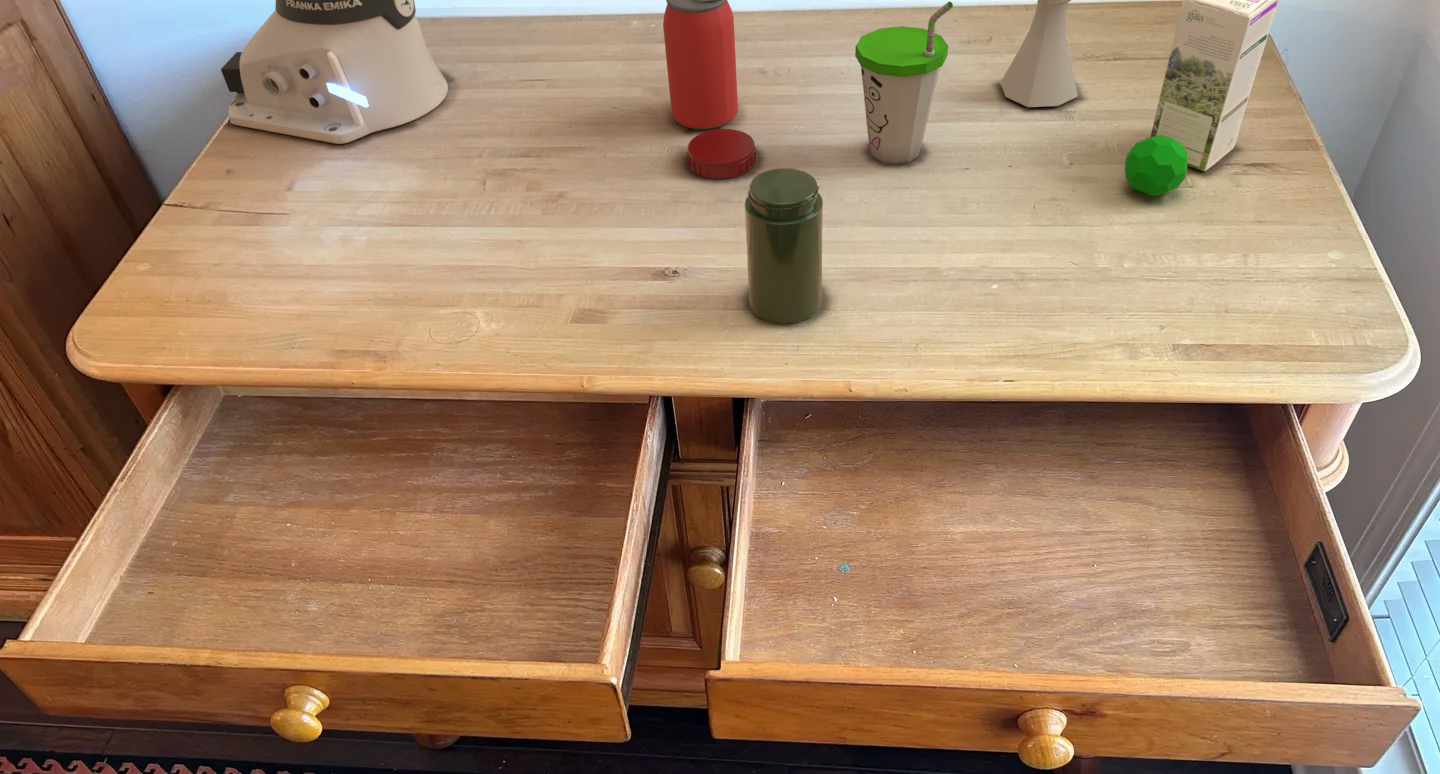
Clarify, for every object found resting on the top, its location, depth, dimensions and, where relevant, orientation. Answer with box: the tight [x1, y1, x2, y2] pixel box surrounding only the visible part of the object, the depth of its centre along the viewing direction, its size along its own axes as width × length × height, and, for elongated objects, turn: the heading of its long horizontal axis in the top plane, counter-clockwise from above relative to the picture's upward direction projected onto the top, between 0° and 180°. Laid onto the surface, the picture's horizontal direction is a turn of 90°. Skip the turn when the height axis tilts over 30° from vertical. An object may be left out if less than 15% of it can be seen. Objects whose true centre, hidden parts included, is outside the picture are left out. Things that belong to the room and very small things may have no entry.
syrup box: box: [1149, 0, 1280, 172], centre depth 90 cm, size 6×6×14 cm
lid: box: [687, 128, 757, 180], centre depth 97 cm, size 6×6×2 cm
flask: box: [999, 0, 1079, 108], centre depth 101 cm, size 7×7×10 cm
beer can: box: [662, 0, 739, 130], centre depth 100 cm, size 7×7×12 cm
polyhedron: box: [1124, 135, 1188, 197], centre depth 89 cm, size 5×5×5 cm
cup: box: [854, 1, 954, 166], centre depth 92 cm, size 8×8×15 cm
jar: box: [744, 167, 824, 325], centre depth 78 cm, size 6×6×10 cm
